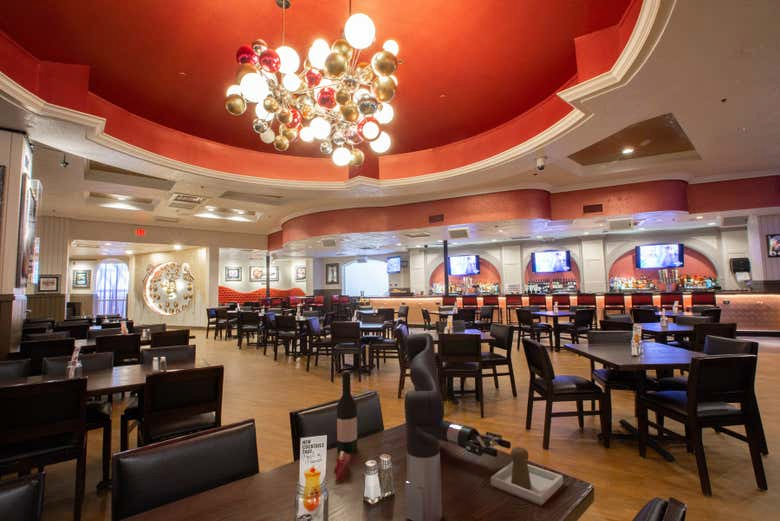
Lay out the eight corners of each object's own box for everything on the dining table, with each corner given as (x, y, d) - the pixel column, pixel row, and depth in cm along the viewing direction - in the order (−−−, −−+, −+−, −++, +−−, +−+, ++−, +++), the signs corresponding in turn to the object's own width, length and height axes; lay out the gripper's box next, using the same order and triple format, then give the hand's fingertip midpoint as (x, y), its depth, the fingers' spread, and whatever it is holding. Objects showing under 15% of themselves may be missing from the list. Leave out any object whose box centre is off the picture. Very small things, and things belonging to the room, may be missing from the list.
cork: (533, 491, 111) (531, 453, 112) (512, 489, 112) (510, 452, 113) (529, 481, 117) (527, 445, 117) (509, 479, 118) (508, 444, 119)
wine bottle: (333, 452, 142) (332, 373, 145) (342, 443, 150) (341, 368, 153) (353, 454, 140) (351, 373, 142) (361, 445, 148) (359, 369, 150)
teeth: (349, 456, 121) (304, 458, 121) (350, 481, 120) (304, 484, 120) (352, 444, 132) (310, 446, 131) (352, 467, 131) (310, 469, 130)
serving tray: (541, 505, 104) (540, 496, 105) (490, 485, 116) (490, 477, 116) (563, 484, 116) (562, 475, 116) (515, 467, 127) (514, 459, 127)
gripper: (450, 431, 129) (492, 444, 117) (473, 420, 138) (513, 431, 127) (451, 453, 128) (493, 469, 116) (474, 441, 138) (514, 454, 126)
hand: (503, 449), depth 122 cm, fingers open, 8 cm apart
